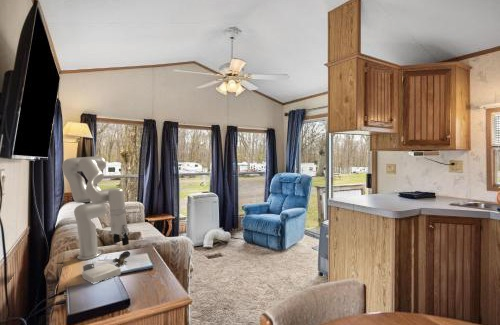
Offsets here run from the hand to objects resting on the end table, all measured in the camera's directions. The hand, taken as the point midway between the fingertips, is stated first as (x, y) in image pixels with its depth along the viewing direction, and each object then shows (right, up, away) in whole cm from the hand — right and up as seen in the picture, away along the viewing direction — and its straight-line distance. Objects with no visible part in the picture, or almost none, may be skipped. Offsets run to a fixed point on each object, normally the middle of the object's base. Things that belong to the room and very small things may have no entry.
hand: (121, 243), depth 159 cm
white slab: (-4, -13, -12) cm, 18 cm away
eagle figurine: (0, -12, +2) cm, 12 cm away
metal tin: (-13, -13, -7) cm, 20 cm away
